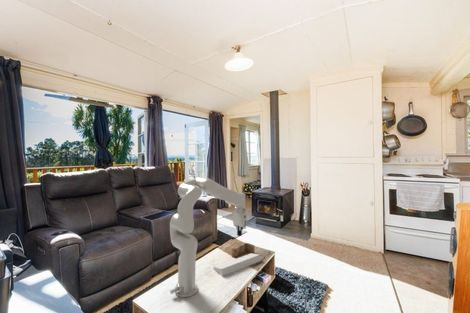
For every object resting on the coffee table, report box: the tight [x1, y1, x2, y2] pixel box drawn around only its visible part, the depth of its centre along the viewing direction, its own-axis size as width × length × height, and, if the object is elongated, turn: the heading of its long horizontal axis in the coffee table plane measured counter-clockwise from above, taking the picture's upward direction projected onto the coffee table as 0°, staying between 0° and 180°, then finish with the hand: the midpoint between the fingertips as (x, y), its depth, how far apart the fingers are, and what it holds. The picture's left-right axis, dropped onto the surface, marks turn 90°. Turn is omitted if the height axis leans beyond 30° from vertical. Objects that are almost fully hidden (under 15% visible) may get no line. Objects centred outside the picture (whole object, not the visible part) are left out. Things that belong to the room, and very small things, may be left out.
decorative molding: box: [213, 253, 262, 277], centre depth 150 cm, size 34×5×10 cm
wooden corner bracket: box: [231, 242, 255, 258], centre depth 165 cm, size 17×9×6 cm, turn 139°
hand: (239, 235), depth 152 cm, fingers closed
